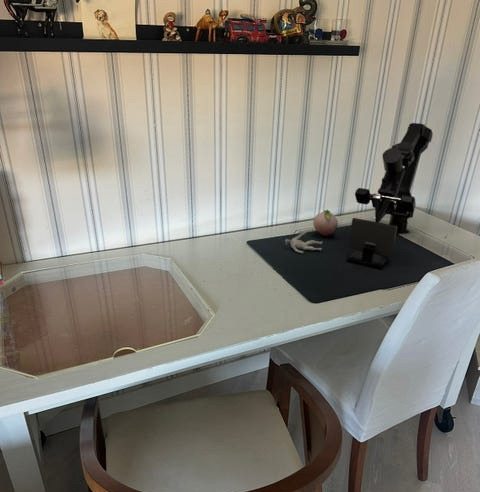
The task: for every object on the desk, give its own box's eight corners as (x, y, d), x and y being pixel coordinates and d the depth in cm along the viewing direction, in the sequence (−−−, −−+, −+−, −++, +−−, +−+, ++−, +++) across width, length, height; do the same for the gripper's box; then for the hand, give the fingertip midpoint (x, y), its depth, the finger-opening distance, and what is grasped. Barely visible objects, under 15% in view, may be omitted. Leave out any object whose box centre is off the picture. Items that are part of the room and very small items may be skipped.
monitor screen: (349, 246, 161) (353, 217, 157) (392, 255, 155) (397, 225, 150) (347, 248, 160) (351, 219, 155) (390, 257, 153) (395, 227, 149)
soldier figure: (321, 257, 162) (288, 247, 160) (314, 262, 167) (282, 252, 164) (323, 236, 165) (291, 226, 162) (317, 241, 170) (285, 231, 167)
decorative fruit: (309, 231, 182) (312, 205, 178) (331, 231, 183) (334, 205, 178) (315, 240, 173) (318, 213, 169) (338, 240, 174) (341, 213, 170)
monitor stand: (355, 253, 164) (357, 238, 162) (388, 260, 159) (391, 245, 157) (347, 261, 157) (349, 246, 155) (380, 269, 152) (383, 253, 150)
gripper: (421, 199, 162) (407, 240, 158) (366, 190, 171) (352, 228, 167) (420, 180, 153) (405, 223, 149) (362, 171, 161) (347, 212, 157)
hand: (376, 222), depth 156 cm, fingers closed
